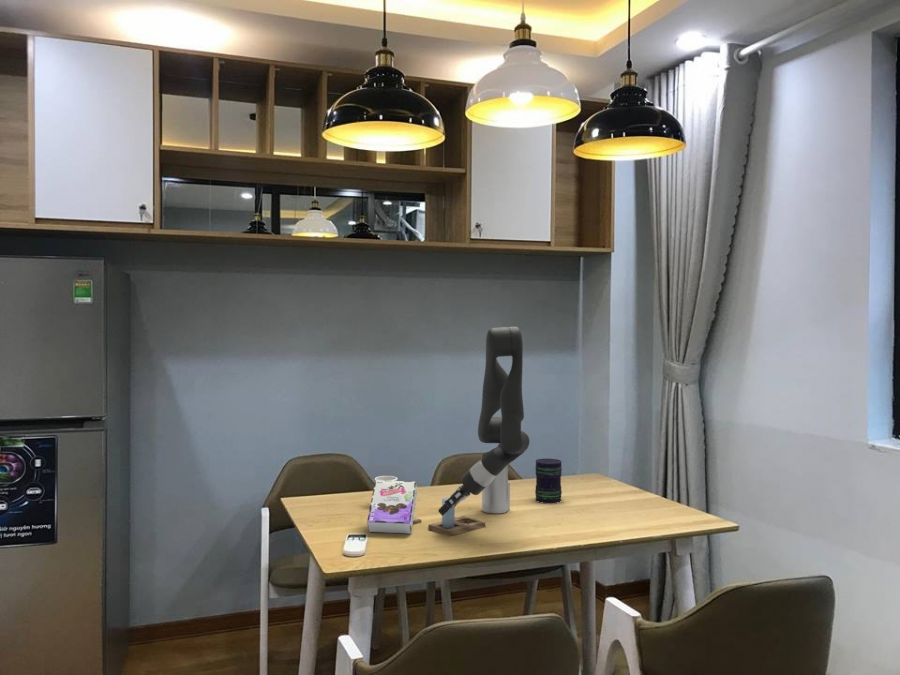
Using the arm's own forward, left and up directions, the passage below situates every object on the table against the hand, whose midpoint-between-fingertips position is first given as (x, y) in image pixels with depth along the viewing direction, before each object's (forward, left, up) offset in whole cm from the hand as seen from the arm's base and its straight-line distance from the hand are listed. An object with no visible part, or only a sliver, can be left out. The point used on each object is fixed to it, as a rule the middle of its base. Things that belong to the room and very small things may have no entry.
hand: (445, 509), depth 227 cm
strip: (+3, -14, -7) cm, 16 cm away
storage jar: (-55, -3, -7) cm, 56 cm away
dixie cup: (-5, -38, -7) cm, 39 cm away
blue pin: (-1, +1, -7) cm, 7 cm away
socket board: (-4, +1, -7) cm, 8 cm away
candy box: (+17, -8, -5) cm, 19 cm away
